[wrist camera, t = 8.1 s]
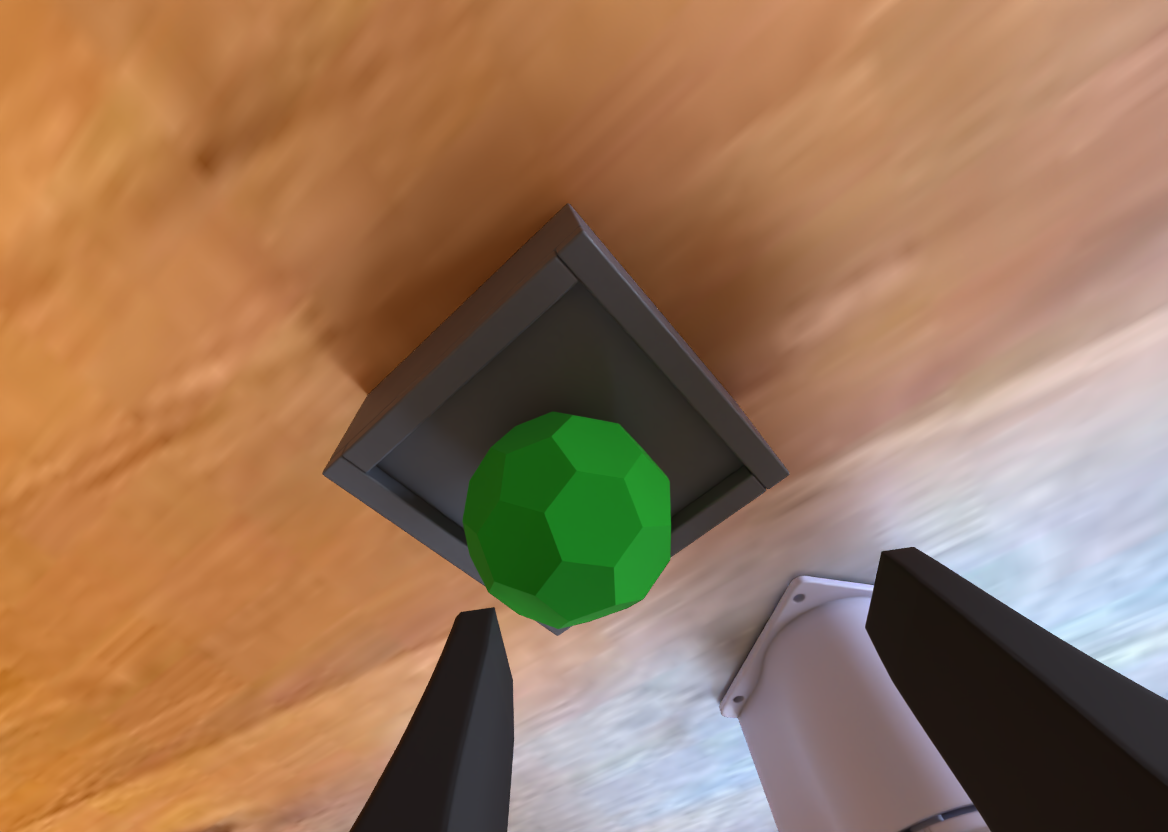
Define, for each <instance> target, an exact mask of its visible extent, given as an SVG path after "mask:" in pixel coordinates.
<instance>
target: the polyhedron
mask: <svg viewBox="0 0 1168 832" xmlns="http://www.w3.org/2000/svg"><path fill="white" fill-rule="evenodd" d="M462 522H463V527H464V531H465V536H466V540H467V545H468V550H469V554H470V557H471V559H472V561H473V563H474V565H475V567H476V569H477V571H478V573H479V575H480V577H481V579H482V581H483V583H484V585H485V586H486V588H487V590H488V592H489V593H490V594H491V595H493V596H494V597H496V598H497V599H498V600H500V601H501V602H502V603H504V604H505V605H507V606H508V607H509V608H511V609H512V610H513V611H515V612H516V613H518V614H519V615H522V616H525V617H527V618H530V619H533V620H535V621H538V622H541V623H543V624H546V625H549V626H551V627H554V628H557V629H561V628H565V627H569V626H573V625H577V624H582V623H586V622H590V621H592V620H595V619H598V618H601V617H604V616H607V615H609V614H612V613H615V612H618V611H621V610H624V609H627V608H629V607H631V606H632V605H634V604H636V603H637V602H639V601H641V600H643V599H644V598H645V596H646V595H647V593H648V592H649V590H650V589H651V587H652V586H653V584H654V583H655V582H656V580H657V579H658V577H659V576H660V574H661V573H662V571H663V570H664V568H665V567H666V565H667V564H668V563H669V561H670V553H671V507H670V481H669V479H668V477H667V476H666V475H665V473H664V472H663V471H662V470H661V469H660V468H659V467H658V465H657V464H656V463H655V462H654V461H653V460H652V459H651V457H650V456H649V455H648V454H647V453H646V452H645V451H644V449H643V448H642V447H641V446H640V445H639V444H638V443H637V442H636V441H635V440H634V439H633V438H632V437H631V436H630V435H629V433H628V432H627V431H626V430H625V429H624V428H623V427H622V426H621V425H620V424H618V423H613V422H608V421H602V420H597V419H592V418H586V417H581V416H575V415H570V414H564V413H559V412H553V411H552V412H550V413H547V414H545V415H542V416H540V417H537V418H535V419H532V420H530V421H527V422H525V423H522V424H520V425H517V426H515V427H514V428H513V429H511V430H510V431H509V432H508V433H507V434H506V435H505V436H503V437H502V438H501V439H500V440H499V441H498V442H496V443H495V444H494V445H493V446H492V447H491V448H490V449H489V451H488V452H487V454H486V455H485V457H484V459H483V460H482V462H481V463H480V465H479V466H478V468H477V470H476V471H475V473H474V474H473V476H472V477H471V479H470V481H469V486H468V491H467V497H466V503H465V509H464V514H463V520H462Z"/></svg>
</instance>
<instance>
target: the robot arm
mask: <svg viewBox="0 0 1168 832" xmlns="http://www.w3.org/2000/svg"><path fill="white" fill-rule="evenodd" d="M719 708H720V711H721V714H722V715H723V716H724V717H730V718H738V720H739V722H740V725H741V728H742V731H743V733H744V736H745V739H746V742H747V745H748V747H749V750H750V753H751V756H752V759H753V761H754V764H755V767H756V770H757V773H758V775H759V778H760V781H761V784H762V786H763V789H764V792H765V795H766V798H767V800H768V803H769V806H770V809H771V812H772V814H773V817H774V820H775V823H776V826H777V828H778V831H779V832H1168V700H1166V699H1164V698H1163V697H1161V696H1159V695H1157V694H1155V693H1153V692H1151V691H1150V690H1148V689H1146V688H1144V687H1142V686H1141V685H1139V684H1137V683H1135V682H1134V681H1132V680H1130V679H1128V678H1127V677H1125V676H1123V675H1121V674H1120V673H1118V672H1116V671H1114V670H1113V669H1111V668H1109V667H1107V666H1106V665H1104V664H1102V663H1100V662H1099V661H1097V660H1095V659H1093V658H1092V657H1090V656H1088V655H1087V654H1085V653H1083V652H1082V651H1080V650H1078V649H1077V648H1075V647H1073V646H1072V645H1070V644H1068V643H1066V642H1065V641H1063V640H1062V639H1060V638H1058V637H1057V636H1055V635H1053V634H1052V633H1050V632H1048V631H1047V630H1045V629H1043V628H1042V627H1040V626H1039V625H1037V624H1035V623H1034V622H1032V621H1031V620H1029V619H1027V618H1026V617H1024V616H1023V615H1021V614H1019V613H1018V612H1016V611H1015V610H1013V609H1011V608H1010V607H1008V606H1007V605H1005V604H1003V603H1002V602H1000V601H999V600H997V599H996V598H994V597H993V596H991V595H989V594H988V593H986V592H985V591H983V590H982V589H980V588H978V587H977V586H975V585H974V584H972V583H971V582H969V581H967V580H966V579H964V578H963V577H961V576H960V575H958V574H957V573H955V572H953V571H952V570H950V569H949V568H947V567H946V566H944V565H942V564H941V563H939V562H938V561H936V560H934V559H933V558H931V557H930V556H928V555H926V554H925V553H923V552H921V551H920V550H918V549H916V548H915V547H909V548H902V549H895V550H888V551H882V552H881V556H880V561H879V565H878V570H877V574H876V579H875V584H874V585H869V584H861V583H854V582H847V581H839V580H832V579H825V578H818V577H810V576H799V577H796V578H795V579H793V580H792V581H791V583H790V584H789V586H788V588H787V589H786V591H785V593H784V595H783V596H782V598H781V600H780V602H779V603H778V605H777V607H776V608H775V610H774V612H773V614H772V615H771V617H770V619H769V621H768V622H767V624H766V626H765V627H764V629H763V631H762V633H761V634H760V636H759V638H758V639H757V641H756V643H755V645H754V646H753V648H752V650H751V652H750V653H749V655H748V657H747V658H746V660H745V662H744V664H743V665H742V667H741V669H740V671H739V672H738V674H737V676H736V677H735V679H734V681H733V683H732V684H731V686H730V688H729V689H728V691H727V693H726V695H725V696H724V698H723V700H722V702H721V703H720V705H719ZM513 747H514V709H513V679H512V675H511V671H510V667H509V663H508V659H507V655H506V651H505V647H504V643H503V639H502V636H501V632H500V628H499V624H498V620H497V616H496V612H495V608H494V607H493V608H486V609H479V610H472V611H465V612H461V613H460V614H459V615H458V616H457V617H456V619H455V621H454V624H453V627H452V629H451V632H450V634H449V637H448V639H447V642H446V644H445V647H444V649H443V651H442V654H441V656H440V658H439V661H438V663H437V665H436V667H435V670H434V672H433V674H432V676H431V678H430V681H429V683H428V685H427V687H426V689H425V692H424V694H423V696H422V698H421V700H420V702H419V704H418V706H417V708H416V710H415V712H414V714H413V716H412V718H411V720H410V722H409V724H408V726H407V728H406V730H405V732H404V734H403V736H402V738H401V740H400V742H399V744H398V746H397V748H396V750H395V751H394V753H393V755H392V757H391V759H390V761H389V762H388V764H387V766H386V768H385V770H384V772H383V773H382V775H381V777H380V779H379V781H378V782H377V784H376V786H375V788H374V790H373V792H372V793H371V795H370V797H369V799H368V801H367V802H366V804H365V806H364V807H363V809H362V811H361V813H360V814H359V816H358V818H357V819H356V821H355V823H354V825H353V826H352V828H351V830H350V831H349V832H507V827H508V814H509V801H510V788H511V774H512V761H513Z"/></svg>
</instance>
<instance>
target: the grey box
mask: <svg viewBox="0 0 1168 832" xmlns="http://www.w3.org/2000/svg"><path fill="white" fill-rule="evenodd" d="M552 411H553V412H559V413H564V414H570V415H575V416H581V417H586V418H592V419H597V420H602V421H608V422H613V423H618V424H620V425H621V426H622V427H623V428H624V429H625V430H626V431H627V432H628V433H629V435H630V436H631V437H632V438H633V439H634V440H635V441H636V442H637V443H638V444H639V445H640V446H641V447H642V448H643V449H644V451H645V452H646V453H647V454H648V455H649V456H650V457H651V459H652V460H653V461H654V462H655V463H656V464H657V465H658V467H659V468H660V469H661V470H662V471H663V472H664V473H665V475H666V476H667V477H668V479H669V481H670V507H671V553H670V558H671V557H672V556H673V555H675V554H676V553H678V552H679V551H681V550H682V549H683V548H685V547H686V546H688V545H689V544H691V543H692V542H694V541H695V540H696V539H698V538H699V537H701V536H702V535H704V534H705V533H706V532H708V531H709V530H711V529H712V528H714V527H715V526H717V525H718V524H719V523H721V522H722V521H724V520H725V519H727V518H728V517H730V516H731V515H732V514H734V513H735V512H737V511H738V510H740V509H741V508H742V507H744V506H745V505H747V504H748V503H750V502H751V501H753V500H754V499H755V498H757V497H758V496H760V495H761V494H763V493H764V492H765V491H766V489H770V488H771V487H773V486H774V485H776V484H777V483H778V482H780V481H781V480H783V479H784V478H786V477H787V476H788V475H789V471H788V470H787V469H786V467H785V466H784V465H783V463H782V462H781V461H780V459H779V458H778V457H777V455H776V454H775V453H774V451H773V450H772V449H771V448H770V446H769V445H768V444H767V442H766V441H765V440H764V438H763V437H762V436H761V434H760V433H759V432H758V430H757V429H756V428H755V426H754V425H753V424H752V423H751V421H750V420H749V419H748V417H747V416H746V415H745V413H744V412H743V411H742V409H741V408H740V407H739V405H738V404H737V403H736V401H735V400H734V399H733V398H732V397H731V396H730V394H729V393H728V392H727V391H726V390H725V388H724V387H723V386H722V385H721V384H720V382H719V381H718V380H717V379H716V378H715V376H714V375H713V374H712V373H711V372H710V371H709V369H708V368H707V367H706V366H705V365H704V363H703V362H702V361H701V360H700V359H699V357H698V356H697V355H696V354H695V353H694V351H693V350H692V349H691V348H690V347H689V345H688V344H687V343H686V342H685V341H684V340H683V338H682V337H681V336H680V335H679V334H678V332H677V331H676V330H675V329H674V328H673V326H672V325H671V324H670V323H669V322H668V320H667V319H666V318H665V317H664V316H663V314H662V313H661V312H660V311H659V310H658V309H657V307H656V306H655V305H654V304H653V303H652V301H651V300H650V299H649V298H648V297H647V295H646V294H645V293H644V292H643V291H642V289H641V288H640V287H639V286H638V285H637V283H636V282H635V281H634V280H633V279H632V278H631V276H630V275H629V274H628V273H627V272H626V270H625V269H624V268H623V267H622V266H621V264H620V263H619V262H618V261H617V260H616V258H615V257H614V256H613V255H612V254H611V253H610V251H609V250H608V249H607V248H606V247H605V245H604V244H603V243H602V242H601V241H600V239H599V238H598V237H597V236H596V235H595V233H594V232H593V231H592V230H591V229H590V227H589V226H588V225H587V224H586V223H585V222H584V220H583V219H582V218H581V217H580V216H579V214H578V213H577V212H576V211H575V210H574V208H573V207H572V206H571V205H570V204H569V203H568V204H566V205H565V206H564V207H563V208H562V209H561V210H560V211H559V212H558V213H557V214H556V215H555V216H554V217H553V218H552V219H551V220H549V221H548V222H547V223H546V224H545V225H544V226H543V227H542V228H541V229H540V230H539V231H538V232H537V233H536V234H535V235H534V236H533V237H532V238H531V239H530V240H529V241H528V242H527V243H526V244H525V245H523V246H522V247H521V248H520V249H519V250H518V251H517V252H516V253H515V254H514V255H513V256H512V257H511V258H510V259H509V260H508V261H507V262H506V263H505V264H504V265H503V266H502V267H501V268H500V269H498V270H497V271H496V272H495V273H494V274H493V275H492V276H491V277H490V278H489V279H488V280H487V281H486V282H485V283H484V284H483V285H482V286H481V287H480V288H479V289H478V290H477V291H476V292H475V293H473V294H472V295H471V296H470V297H469V298H468V299H467V300H466V301H465V302H464V303H463V304H462V305H461V306H460V307H459V308H458V309H457V310H456V311H455V312H454V313H453V314H452V315H451V316H450V317H448V318H447V319H446V320H445V321H444V322H443V323H442V324H441V325H440V326H439V327H438V328H437V329H436V330H435V331H434V332H433V333H432V334H431V335H430V336H429V337H428V338H427V339H426V340H425V341H424V342H422V343H421V344H420V345H419V346H418V347H417V348H416V349H415V350H414V351H413V352H412V353H411V354H410V355H409V356H408V357H407V358H406V359H405V360H404V361H403V362H402V363H401V364H400V365H399V366H397V367H396V368H395V369H394V370H393V371H392V372H391V373H390V374H389V375H388V376H387V377H386V378H385V379H384V380H383V381H382V382H381V383H380V384H379V385H378V386H377V387H376V388H375V389H374V390H372V391H371V392H370V393H369V394H368V395H367V397H366V399H365V400H364V402H363V404H362V406H361V407H360V409H359V411H358V412H357V414H356V416H355V418H354V419H353V421H352V423H351V424H350V426H349V428H348V430H347V431H346V433H345V435H344V436H343V438H342V440H341V442H340V443H339V445H338V447H337V448H336V450H335V452H334V454H333V455H332V457H331V459H330V461H329V462H328V464H327V466H326V467H325V469H324V471H323V473H322V474H323V475H324V476H325V477H327V478H328V479H330V480H331V481H333V482H334V483H336V484H337V485H338V486H340V487H341V488H343V489H344V490H346V491H347V492H349V493H350V494H352V495H353V496H354V497H356V498H357V499H359V500H360V501H362V502H363V503H365V504H366V505H368V506H369V507H370V508H372V509H373V510H375V511H376V512H378V513H379V514H381V515H382V516H384V517H385V518H386V519H388V520H389V521H391V522H392V523H394V524H395V525H397V526H398V527H400V528H401V529H402V530H404V531H405V532H407V533H408V534H410V535H411V536H413V537H414V538H416V539H417V540H418V541H420V542H421V543H423V544H424V545H426V546H427V547H429V548H430V549H432V550H433V551H434V552H436V553H437V554H439V555H440V556H442V557H443V558H445V559H446V560H448V561H449V562H450V563H452V564H453V565H455V566H456V567H458V568H459V569H461V570H462V571H464V572H465V573H466V574H468V575H469V576H471V577H472V578H474V579H475V580H477V581H478V582H480V583H481V584H482V585H484V583H483V581H482V579H481V577H480V575H479V573H478V571H477V569H476V567H475V565H474V563H473V561H472V559H471V557H470V554H469V550H468V545H467V540H466V536H465V531H464V527H463V522H462V520H463V514H464V509H465V503H466V497H467V491H468V486H469V481H470V479H471V477H472V476H473V474H474V473H475V471H476V470H477V468H478V466H479V465H480V463H481V462H482V460H483V459H484V457H485V455H486V454H487V452H488V451H489V449H490V448H491V447H492V446H493V445H494V444H495V443H496V442H498V441H499V440H500V439H501V438H502V437H503V436H505V435H506V434H507V433H508V432H509V431H510V430H511V429H513V428H514V427H515V426H517V425H520V424H522V423H525V422H527V421H530V420H532V419H535V418H537V417H540V416H542V415H545V414H547V413H550V412H552ZM484 586H485V585H484ZM485 587H486V586H485ZM536 622H538V621H536ZM538 623H539V624H541V625H542V626H544V627H545V628H546V629H548V630H549V631H551V632H552V633H554V634H555V635H557V636H558V635H560V634H561V633H563V632H564V631H566V630H567V629H569V628H570V627H572V626H569V627H565V628H561V629H557V628H554V627H551V626H549V625H546V624H543V623H541V622H538Z"/></svg>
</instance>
